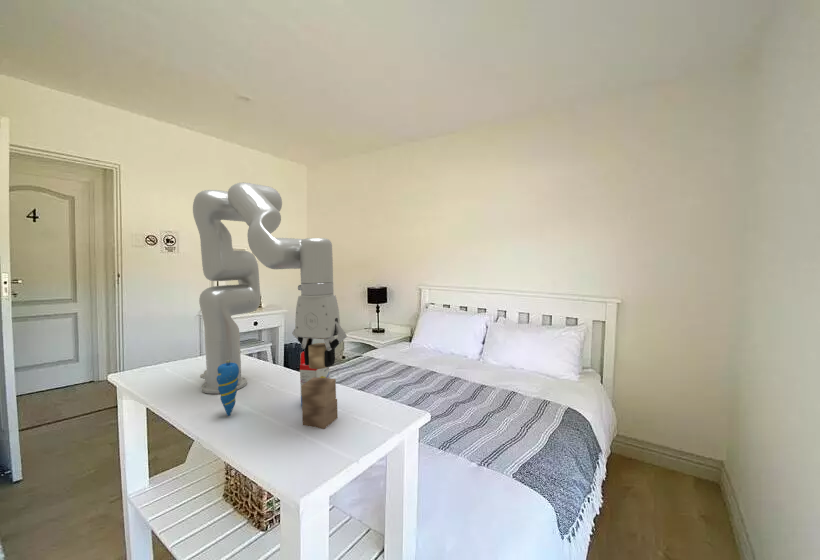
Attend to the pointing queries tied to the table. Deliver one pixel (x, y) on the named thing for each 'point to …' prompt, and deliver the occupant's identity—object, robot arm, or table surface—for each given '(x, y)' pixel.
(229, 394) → the ornament
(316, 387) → the top block
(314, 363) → the beige knob
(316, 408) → the bottom block
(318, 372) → the ink box
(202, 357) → the table surface
